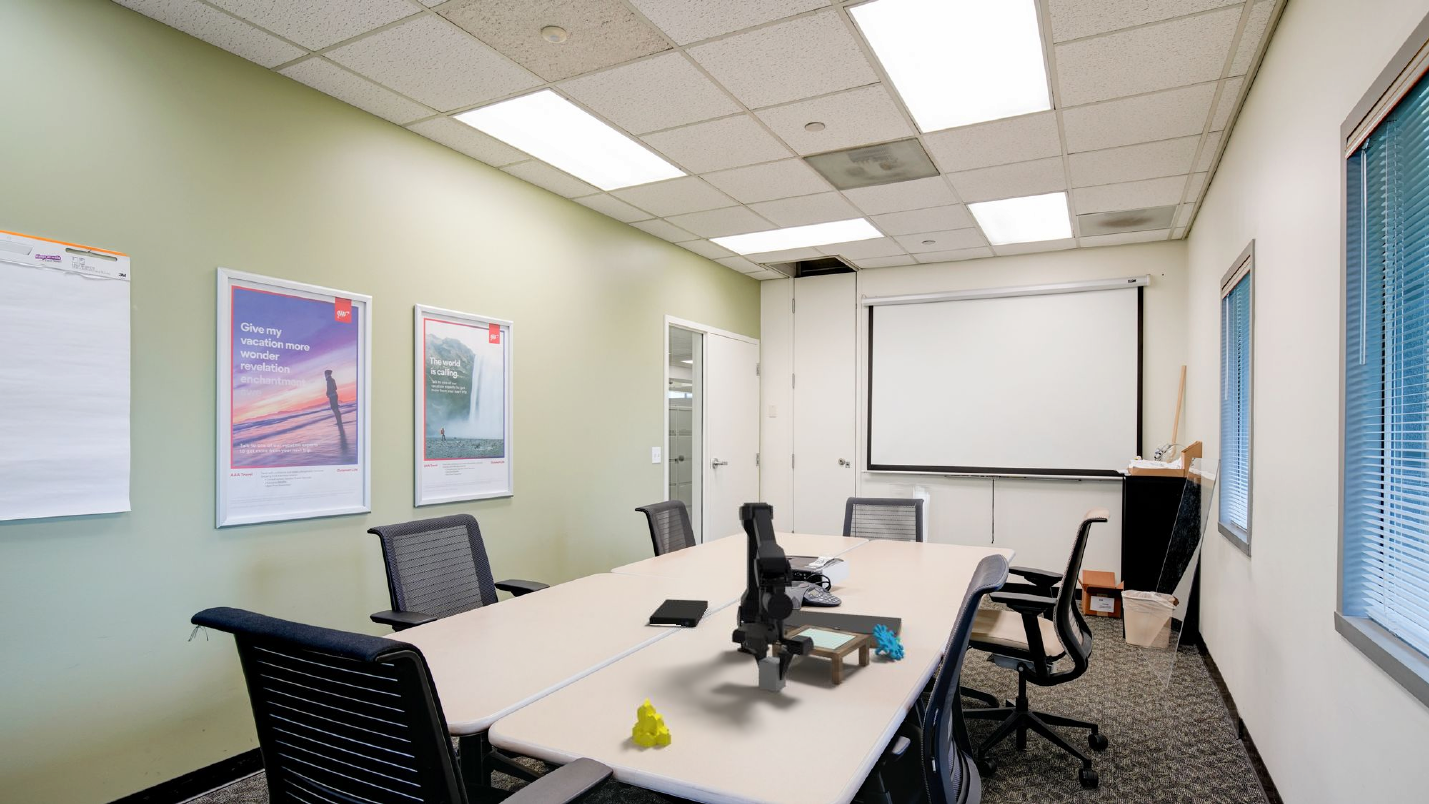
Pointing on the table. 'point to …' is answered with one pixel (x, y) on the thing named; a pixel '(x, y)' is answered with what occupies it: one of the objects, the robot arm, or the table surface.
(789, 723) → the table surface
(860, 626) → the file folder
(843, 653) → the frame
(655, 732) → the yellow lumpy pyramid
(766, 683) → the stone block
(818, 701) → the table surface
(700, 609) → the external hard drive
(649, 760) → the table surface
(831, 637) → the trapdoor
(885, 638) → the gear
